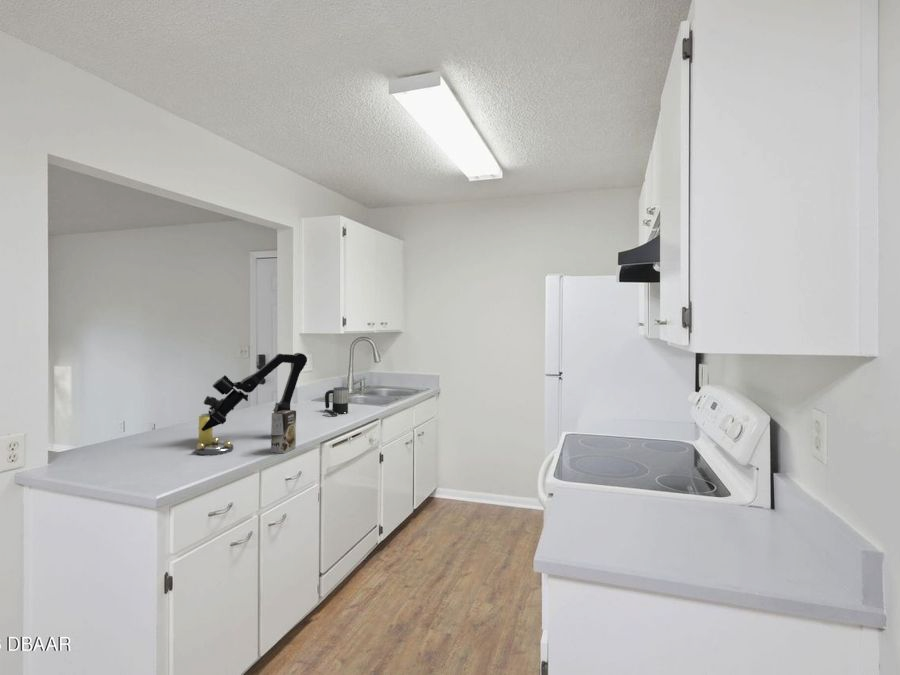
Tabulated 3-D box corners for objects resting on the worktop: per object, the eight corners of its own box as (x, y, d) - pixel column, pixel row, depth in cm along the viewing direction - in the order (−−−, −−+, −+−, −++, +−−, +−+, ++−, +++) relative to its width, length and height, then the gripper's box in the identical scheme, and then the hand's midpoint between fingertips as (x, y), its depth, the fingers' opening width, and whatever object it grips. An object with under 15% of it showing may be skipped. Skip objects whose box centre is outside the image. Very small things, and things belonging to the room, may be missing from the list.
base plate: (222, 444, 204) (222, 435, 204) (240, 450, 196) (240, 440, 196) (188, 451, 193) (188, 441, 193) (205, 457, 185) (205, 447, 185)
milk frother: (347, 411, 287) (348, 386, 287) (350, 416, 272) (351, 390, 272) (323, 412, 283) (323, 387, 282) (325, 417, 268) (325, 390, 267)
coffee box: (284, 453, 192) (285, 414, 192) (270, 452, 194) (270, 413, 193) (296, 448, 201) (296, 410, 201) (282, 446, 203) (283, 409, 202)
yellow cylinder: (215, 442, 207) (215, 413, 207) (206, 445, 202) (206, 415, 202) (204, 442, 208) (204, 412, 208) (195, 444, 203) (196, 415, 203)
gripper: (214, 386, 214) (186, 413, 209) (217, 392, 198) (187, 420, 193) (233, 403, 218) (206, 429, 213) (237, 409, 202) (208, 438, 197)
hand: (202, 428), depth 204 cm, fingers closed on yellow cylinder, 5 cm apart
